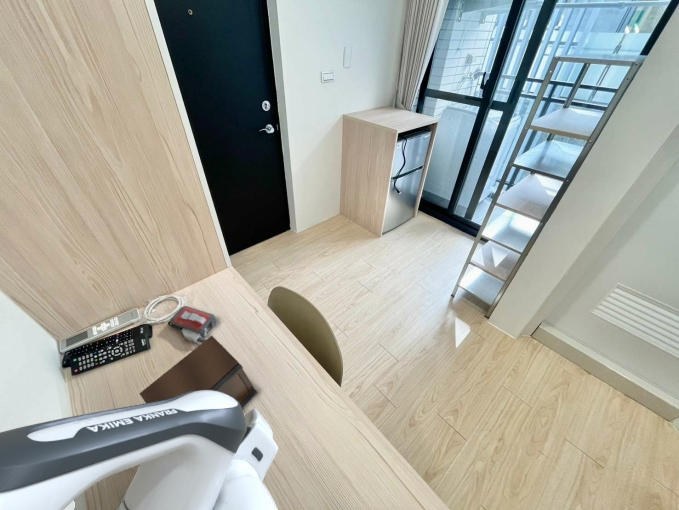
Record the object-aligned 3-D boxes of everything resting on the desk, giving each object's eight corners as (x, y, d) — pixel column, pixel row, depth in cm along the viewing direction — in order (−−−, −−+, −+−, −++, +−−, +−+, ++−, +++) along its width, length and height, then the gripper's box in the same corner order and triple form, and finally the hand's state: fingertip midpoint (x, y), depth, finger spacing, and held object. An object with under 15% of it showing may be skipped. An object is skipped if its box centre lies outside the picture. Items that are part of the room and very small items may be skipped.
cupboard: (200, 453, 59) (167, 435, 48) (174, 417, 64) (139, 393, 53) (258, 392, 68) (241, 365, 57) (231, 365, 73) (211, 335, 62)
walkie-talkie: (164, 332, 80) (221, 353, 75) (157, 324, 77) (216, 345, 72) (185, 308, 86) (239, 326, 81) (179, 300, 83) (235, 318, 78)
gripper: (170, 586, 35) (167, 521, 46) (286, 440, 46) (261, 416, 58) (137, 557, 34) (142, 498, 45) (264, 414, 45) (242, 395, 56)
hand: (209, 451), depth 51 cm, fingers open, 8 cm apart
